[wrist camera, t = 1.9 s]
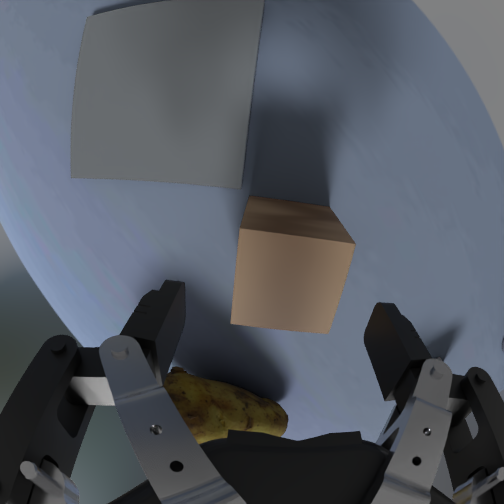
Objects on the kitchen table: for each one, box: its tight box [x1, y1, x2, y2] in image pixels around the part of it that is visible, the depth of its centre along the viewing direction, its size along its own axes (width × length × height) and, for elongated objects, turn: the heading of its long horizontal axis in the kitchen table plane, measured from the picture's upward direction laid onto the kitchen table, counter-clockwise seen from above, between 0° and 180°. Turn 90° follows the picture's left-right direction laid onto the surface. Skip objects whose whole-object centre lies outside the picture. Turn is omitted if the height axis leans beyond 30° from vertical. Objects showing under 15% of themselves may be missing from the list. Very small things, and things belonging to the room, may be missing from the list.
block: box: [230, 196, 356, 334], centre depth 15 cm, size 5×5×6 cm
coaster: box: [71, 0, 265, 189], centre depth 14 cm, size 12×12×1 cm
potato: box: [163, 366, 288, 444], centre depth 21 cm, size 8×13×8 cm, turn 34°
